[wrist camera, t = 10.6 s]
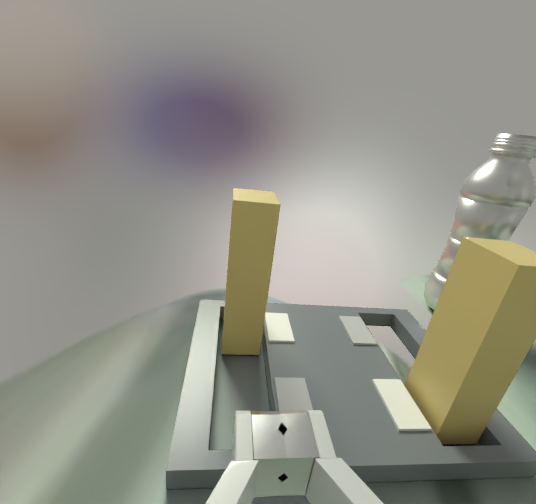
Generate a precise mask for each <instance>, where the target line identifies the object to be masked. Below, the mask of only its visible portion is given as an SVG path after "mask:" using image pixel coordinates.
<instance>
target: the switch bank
mask: <svg viewBox="0 0 536 504" xmlns="http://www.w3.org/2000/svg"><path fill="white" fill-rule="evenodd" d="M224 309H225V301H218V300H200V304H199V309H198V314H197V319H196V324H195V329H194V334H193V339H192V344H191V349H190V354H189V359H188V364H187V369H186V374H185V379H184V384H183V389H182V394H181V399H180V404H179V409H178V413H177V418H176V423H175V428H174V433H173V438H172V443H171V448H170V453H169V458H168V463H167V468H166V489H186V488H215V486H216V485H217V483H218V481H219V480H220V478H221V476H222V475H223V473H224V471H225V470H226V468H227V466H228V465H229V463H230V461H232V450H209V438H210V426H211V414H212V402H213V390H214V379H215V367H216V355H217V343H218V331H219V319H224ZM366 325H373V326H374V325H375V326H391V328H392V329H393V330H394V332H395V333H396V334H397V336H398V337H399V338H400V340H401V341H402V342H403V344H404V345H405V346H406V348H407V349H408V350H409V352H410V353H411V354H412V356H413V357H414V358H415V359H416V356H417V354H418V351H419V348H420V346H421V343H422V341H423V338H424V336H425V333H426V330H425V329H424V328H423V327H422V326H421V325H420V324H419V323H418V321H417V320H416V319H415V318H414V317H413V316H412V315H411V314H410V313H409V312H408V311H407V310H399V309H378V308H358V307H339V306H318V305H299V304H298V305H297V304H278V303H267V306H266V313H265V320H264V328H263V335H262V343H263V352H264V360H265V368H266V377H267V385H268V394H269V402H270V410H271V411H284V410H306V411H307V410H321V411H322V412H323V414H324V417H325V421H326V424H327V427H328V431H329V434H330V437H331V441H332V444H333V447H334V451H335V454H336V457H337V458H342V459H343V460H344V462H345V463H346V464H347V465H348V466H349V467H350V468H351V469H352V470H353V471H354V472H355V473H356V474H357V476H358V477H359V478H360V479H361V480H362V481H363V482H364V483H366V482H396V481H426V480H456V479H486V478H516V477H534V475H535V474H536V451H535V450H534V449H533V448H532V447H531V446H530V444H529V443H528V442H527V441H526V440H525V439H524V438H523V437H522V436H521V435H520V433H519V432H518V431H517V430H516V429H515V428H514V427H513V426H512V425H511V424H510V422H509V421H508V420H507V419H506V418H505V417H504V416H503V415H502V414H501V413H500V411H499V410H498V409H497V408H496V410H495V412H494V414H493V415H492V417H491V419H490V421H489V422H488V424H487V426H486V428H485V429H484V431H483V433H482V435H481V437H480V438H479V440H478V443H479V444H480V446H443V445H442V443H441V442H440V440H439V439H438V437H437V436H436V434H435V432H434V431H433V429H432V428H431V426H430V425H429V423H428V422H427V420H426V418H425V417H424V415H423V414H422V412H421V411H420V409H419V407H418V406H417V404H416V403H415V401H414V400H413V398H412V397H411V395H410V393H409V392H408V390H407V389H406V387H405V386H404V384H403V382H402V381H401V379H400V378H399V376H398V375H397V373H396V372H395V370H394V368H393V367H392V365H391V364H390V362H389V361H388V359H387V357H386V356H385V354H384V353H383V351H382V350H381V348H380V346H379V345H378V343H377V342H376V340H375V339H374V337H373V336H372V334H371V333H370V331H369V330H368V328H367V326H366Z"/></svg>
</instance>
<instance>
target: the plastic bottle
mask: <svg viewBox="0 0 536 504" xmlns="http://www.w3.org/2000/svg"><path fill="white" fill-rule="evenodd" d="M489 152H490V153H492V155H491V157H490V158H489V160H488V161H486V162H485V163H484V164H482V165H481V166H480V167H478V168H477V169H476V170H475V171H473V172H472V173H471V174H470V175H469V176H468V177H467V178H466V180H465V181H464V182H463V184H462V187H461V190H460V195H459V199H458V204H457V209H456V214H455V219H454V222H453V225H452V228H451V234H450V235H449V238H448V242H447V244H446V246H445V248H444V250H443V252H442V255H441V257H440V259H439V261H438V263H437V265H436V267H435V268H434V270H433V271H432V273H431V274H430V276H429V278H428V280H427V282H426V285H425V291H424V297H425V300H426V303H427V304H428V306H429V307H430V308H432V309H433V310H435V307H436V305H437V302H438V300H439V297H440V295H441V292H442V289H443V287H444V284H445V282H446V279H447V277H448V274H449V271H450V269H451V266H452V264H453V261H454V259H455V256H456V253H457V251H458V248H459V246H460V243H461V241H462V238H463V237H471V238H483V239H494V240H506V241H509V240H510V238H511V236H512V234H513V232H514V231H515V229H516V228H517V226H518V224H519V223H520V221H521V220H522V218H523V217H524V215H525V214H526V212H527V210H528V208H529V207H530V206H531V204H532V202H533V201H534V199H535V194H536V186H535V181H534V177H533V174H532V172H531V169H530V167H529V163H530V160H531V158H536V137H534V136H526V135H515V134H497V136H496V138H495V141H494V143H493V146H492V148H490V151H489Z"/></svg>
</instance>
